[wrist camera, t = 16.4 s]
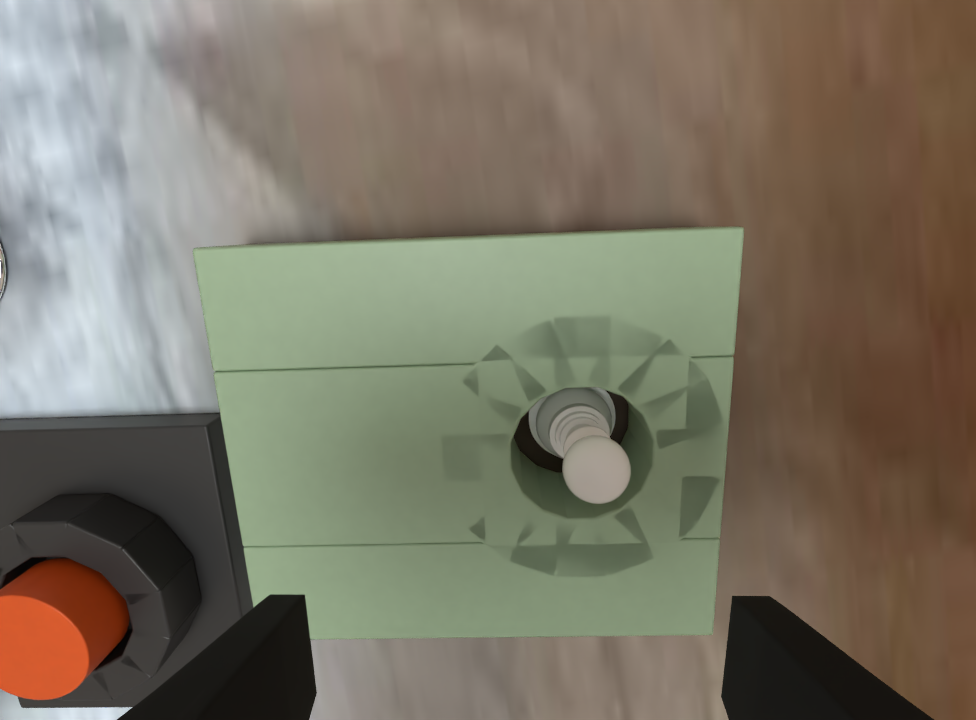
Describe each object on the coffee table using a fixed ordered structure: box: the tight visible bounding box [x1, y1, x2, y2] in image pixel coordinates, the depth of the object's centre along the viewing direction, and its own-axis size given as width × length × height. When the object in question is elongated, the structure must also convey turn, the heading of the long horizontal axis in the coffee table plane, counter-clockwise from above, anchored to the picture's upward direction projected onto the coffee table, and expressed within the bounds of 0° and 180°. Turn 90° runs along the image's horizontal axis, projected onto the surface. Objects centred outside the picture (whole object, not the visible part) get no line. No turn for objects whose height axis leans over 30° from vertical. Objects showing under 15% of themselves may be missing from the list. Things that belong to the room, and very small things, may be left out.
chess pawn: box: [529, 387, 631, 504], centre depth 15 cm, size 3×3×5 cm
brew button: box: [0, 558, 130, 700], centre depth 16 cm, size 4×4×2 cm
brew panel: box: [0, 414, 253, 708], centre depth 18 cm, size 11×9×3 cm
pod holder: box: [193, 227, 744, 639], centre depth 16 cm, size 12×14×3 cm
